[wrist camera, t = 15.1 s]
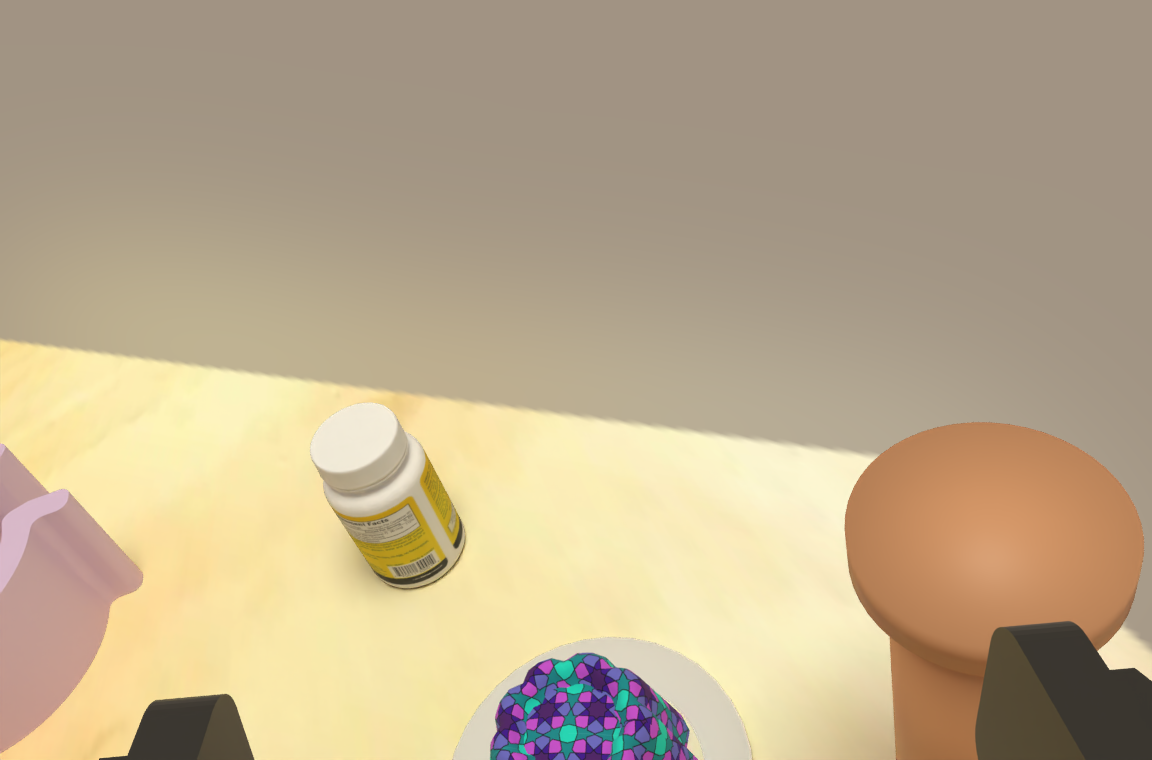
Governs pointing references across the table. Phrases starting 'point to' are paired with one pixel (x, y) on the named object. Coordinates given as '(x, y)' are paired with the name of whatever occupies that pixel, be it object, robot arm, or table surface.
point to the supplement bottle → (387, 495)
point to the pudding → (605, 708)
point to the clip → (50, 596)
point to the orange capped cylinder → (982, 562)
